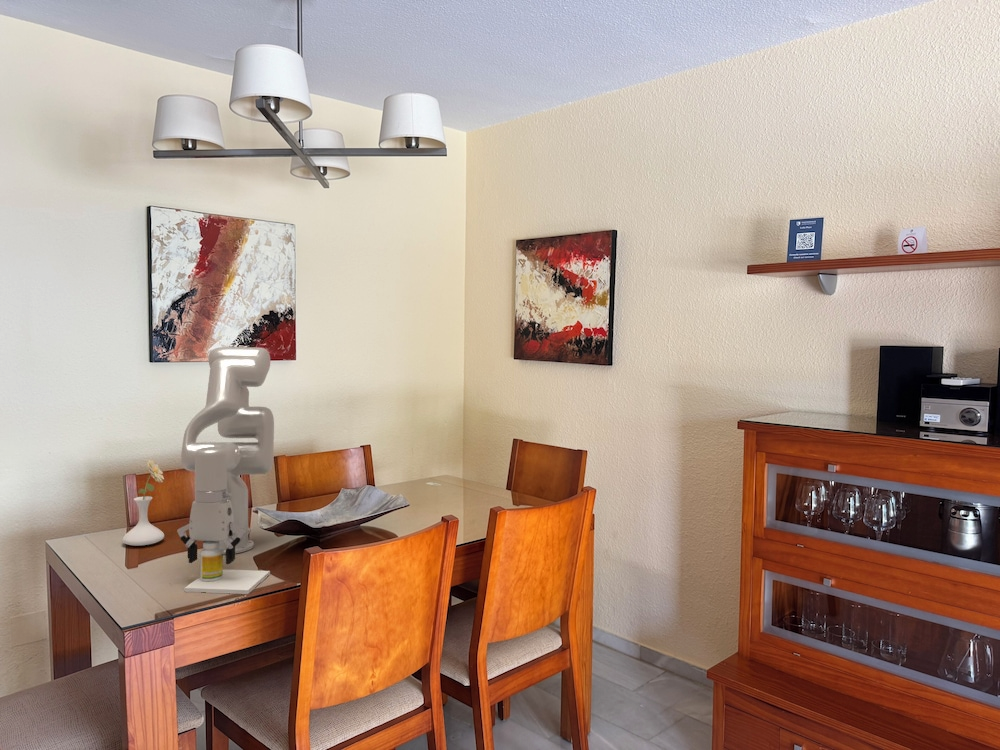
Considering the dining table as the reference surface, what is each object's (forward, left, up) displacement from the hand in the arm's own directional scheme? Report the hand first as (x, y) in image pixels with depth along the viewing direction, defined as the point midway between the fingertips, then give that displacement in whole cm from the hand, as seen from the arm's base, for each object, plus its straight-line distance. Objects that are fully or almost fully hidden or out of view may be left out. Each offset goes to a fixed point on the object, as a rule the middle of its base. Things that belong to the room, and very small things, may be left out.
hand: (211, 562), depth 176 cm
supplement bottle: (0, 0, -4) cm, 5 cm away
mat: (0, +5, -5) cm, 7 cm away
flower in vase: (-31, -35, -6) cm, 47 cm away
